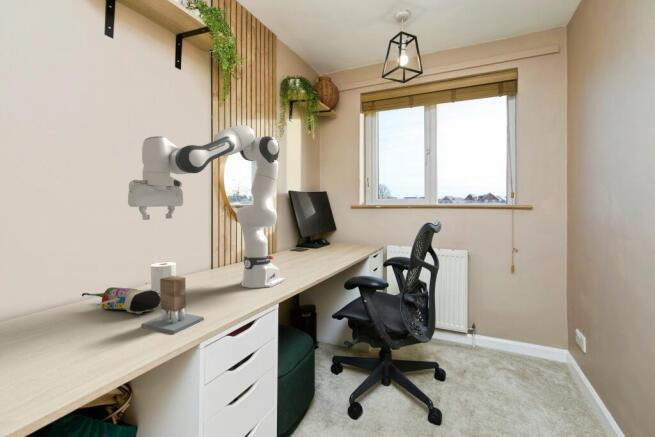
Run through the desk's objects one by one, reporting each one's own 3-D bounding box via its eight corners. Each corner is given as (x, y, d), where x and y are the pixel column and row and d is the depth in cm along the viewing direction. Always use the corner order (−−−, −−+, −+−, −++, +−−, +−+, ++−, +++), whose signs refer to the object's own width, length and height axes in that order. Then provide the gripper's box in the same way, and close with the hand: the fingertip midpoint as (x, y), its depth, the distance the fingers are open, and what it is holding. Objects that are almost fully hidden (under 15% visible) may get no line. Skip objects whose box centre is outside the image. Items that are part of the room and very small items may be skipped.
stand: (173, 314, 107) (172, 300, 107) (203, 319, 102) (203, 305, 101) (141, 326, 96) (141, 311, 95) (174, 333, 91) (173, 317, 90)
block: (172, 304, 102) (171, 275, 101) (185, 307, 100) (185, 277, 99) (160, 309, 98) (160, 278, 97) (174, 311, 95) (173, 280, 95)
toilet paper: (181, 288, 140) (181, 262, 140) (164, 294, 130) (164, 266, 130) (163, 286, 143) (162, 261, 142) (145, 292, 133) (144, 265, 132)
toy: (63, 315, 107) (122, 322, 96) (64, 290, 107) (122, 294, 97) (127, 301, 128) (180, 305, 118) (127, 280, 129) (180, 282, 118)
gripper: (135, 178, 99) (137, 220, 99) (185, 182, 118) (186, 218, 118) (122, 179, 101) (124, 220, 102) (173, 183, 120) (174, 217, 121)
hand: (158, 219), depth 110 cm, fingers open, 8 cm apart
